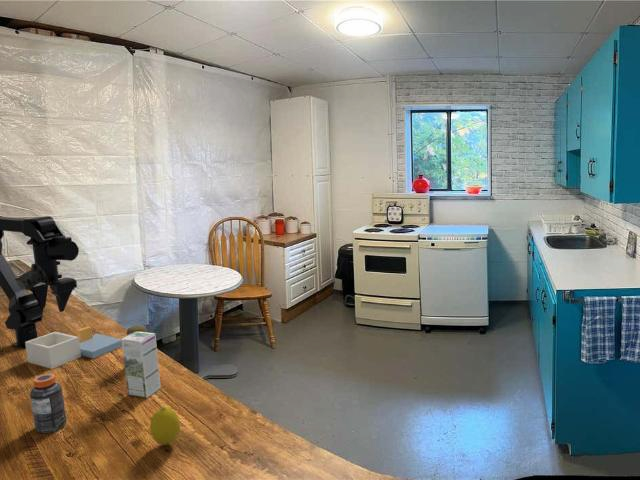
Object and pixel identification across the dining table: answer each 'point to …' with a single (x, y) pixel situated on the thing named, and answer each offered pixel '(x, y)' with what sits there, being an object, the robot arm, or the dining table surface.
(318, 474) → the dining table surface
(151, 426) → the lemon
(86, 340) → the lid
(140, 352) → the syrup box
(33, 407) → the pill bottle
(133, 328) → the cork
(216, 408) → the dining table surface
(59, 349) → the parts tub
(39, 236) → the robot arm
